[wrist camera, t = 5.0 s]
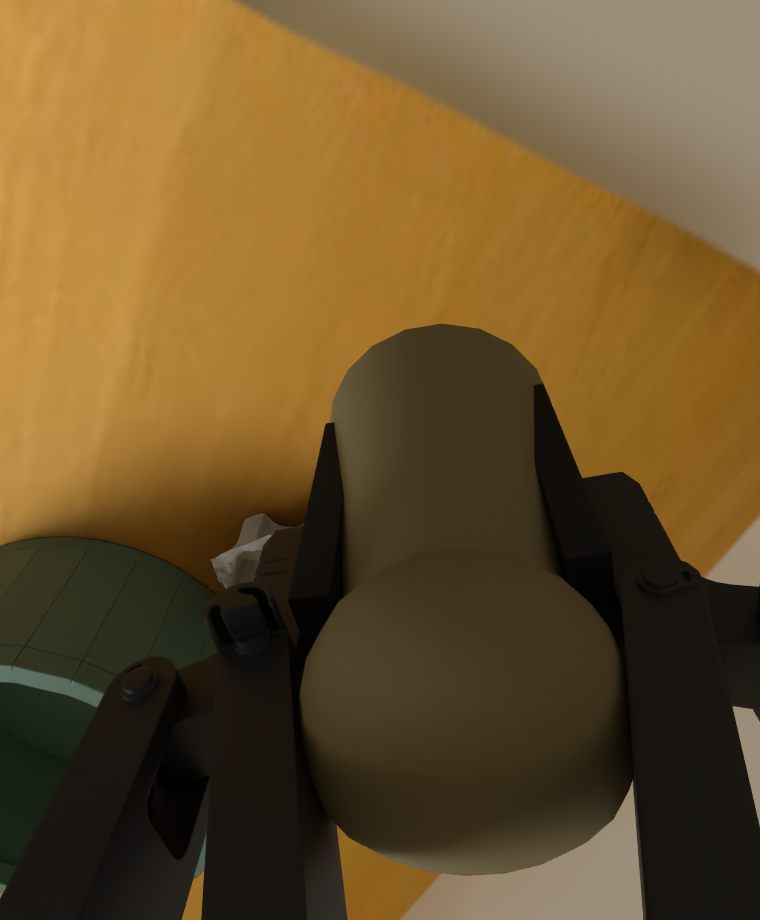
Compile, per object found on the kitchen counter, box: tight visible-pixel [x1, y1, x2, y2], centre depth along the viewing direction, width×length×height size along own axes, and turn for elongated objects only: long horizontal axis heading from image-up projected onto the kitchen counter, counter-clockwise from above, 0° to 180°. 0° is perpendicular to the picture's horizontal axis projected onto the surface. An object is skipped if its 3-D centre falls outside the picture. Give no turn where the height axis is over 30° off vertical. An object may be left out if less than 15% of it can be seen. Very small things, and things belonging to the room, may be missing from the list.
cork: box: [298, 324, 633, 876], centre depth 14 cm, size 6×6×11 cm
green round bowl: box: [0, 537, 217, 894], centre depth 33 cm, size 17×17×8 cm
